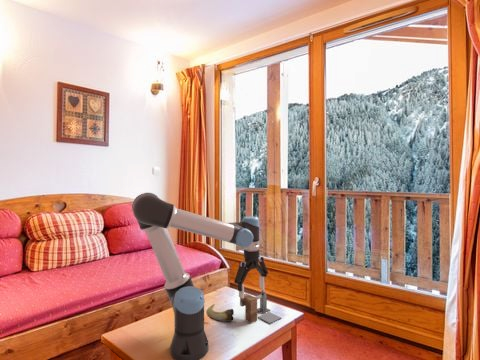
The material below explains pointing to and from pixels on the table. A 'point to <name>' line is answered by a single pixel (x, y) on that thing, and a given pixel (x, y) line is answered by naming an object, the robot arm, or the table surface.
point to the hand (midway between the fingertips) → (252, 293)
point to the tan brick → (250, 307)
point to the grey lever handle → (261, 302)
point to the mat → (269, 317)
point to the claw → (220, 314)
